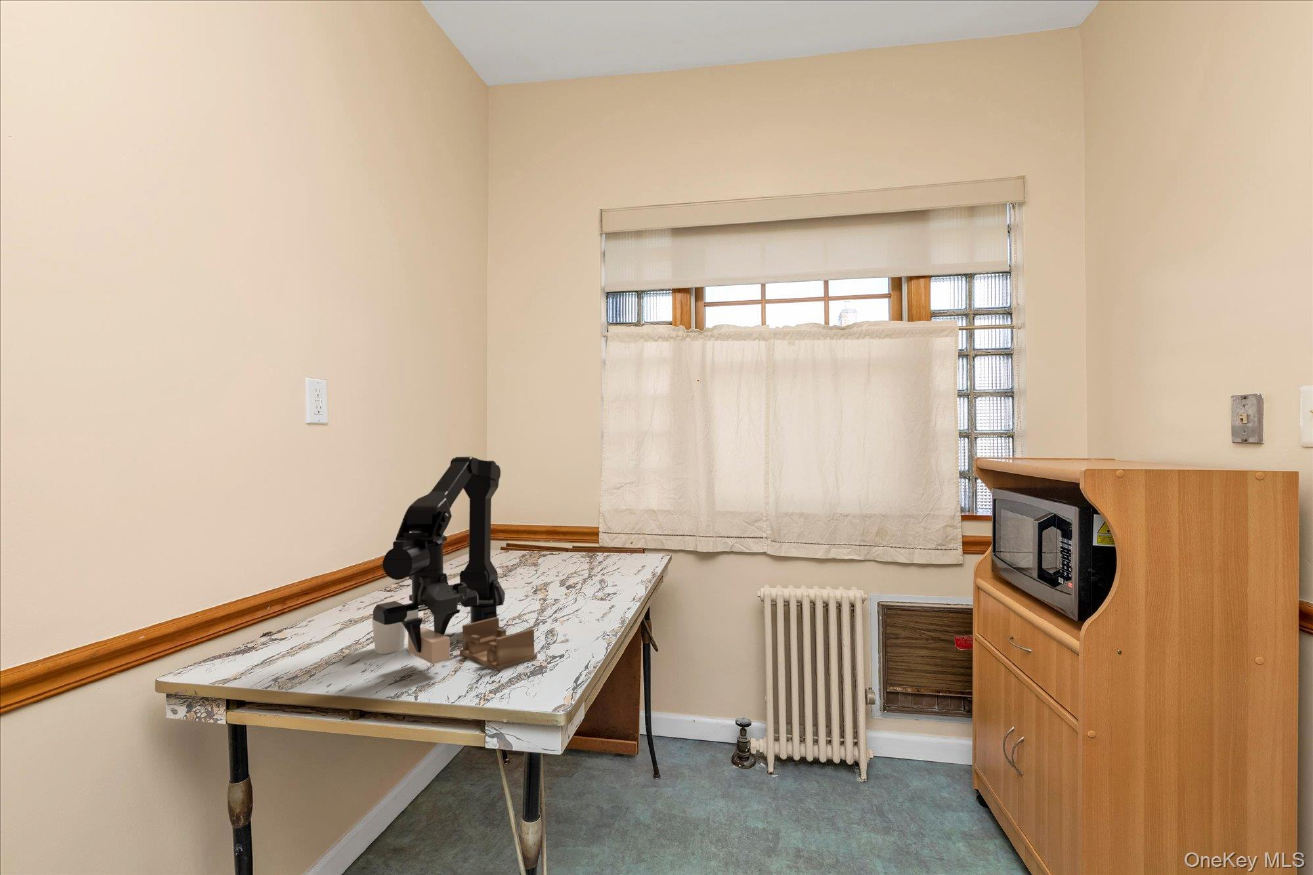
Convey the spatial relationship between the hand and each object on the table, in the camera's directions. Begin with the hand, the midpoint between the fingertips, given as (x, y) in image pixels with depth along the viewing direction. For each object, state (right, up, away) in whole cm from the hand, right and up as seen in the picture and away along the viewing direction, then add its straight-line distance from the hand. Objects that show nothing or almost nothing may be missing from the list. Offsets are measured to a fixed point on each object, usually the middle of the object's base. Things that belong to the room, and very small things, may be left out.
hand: (428, 649), depth 115 cm
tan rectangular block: (0, -1, 0) cm, 1 cm away
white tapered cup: (-13, -5, +12) cm, 18 cm away
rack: (+12, -4, +7) cm, 14 cm away
